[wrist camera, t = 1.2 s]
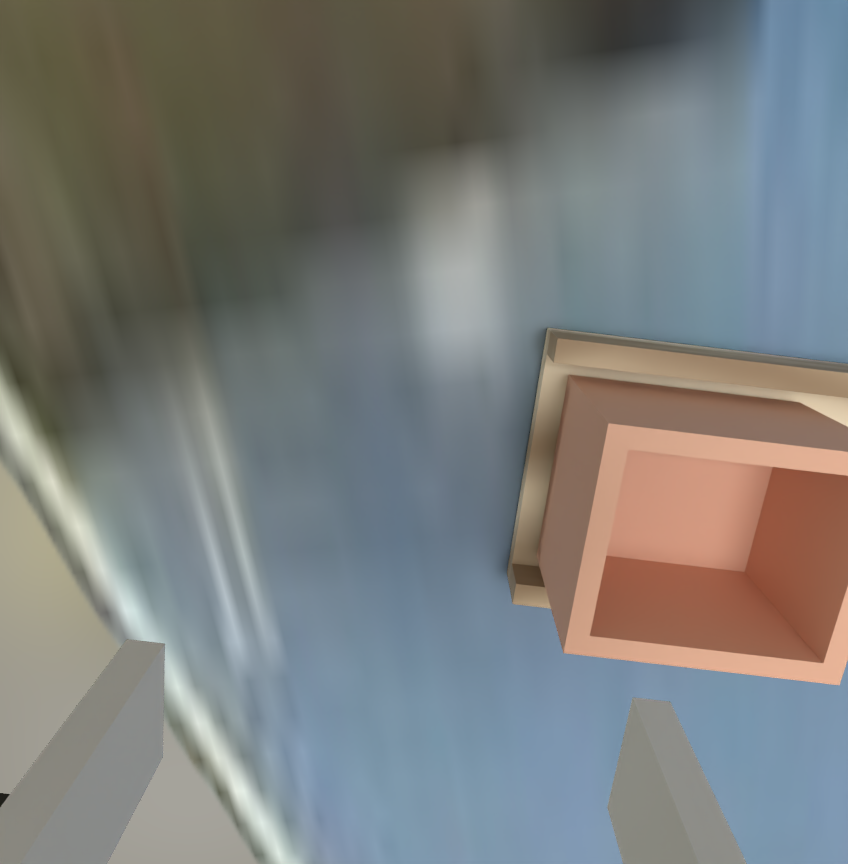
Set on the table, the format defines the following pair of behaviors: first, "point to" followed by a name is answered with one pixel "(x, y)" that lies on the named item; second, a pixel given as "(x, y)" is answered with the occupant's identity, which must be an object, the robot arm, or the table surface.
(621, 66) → the table surface
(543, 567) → the box
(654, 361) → the bay
